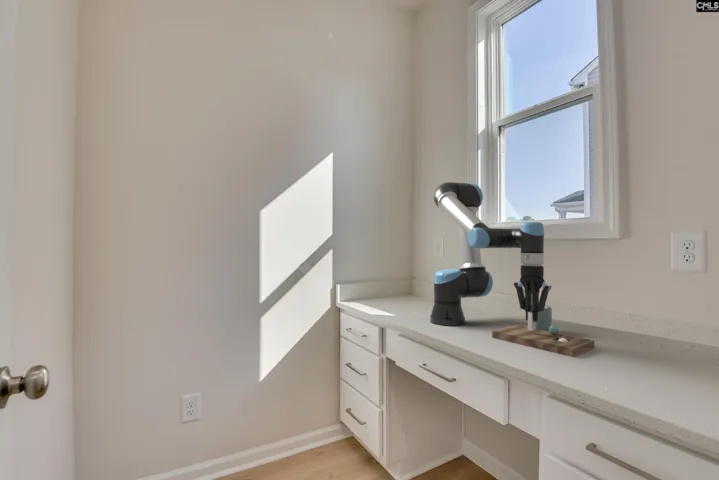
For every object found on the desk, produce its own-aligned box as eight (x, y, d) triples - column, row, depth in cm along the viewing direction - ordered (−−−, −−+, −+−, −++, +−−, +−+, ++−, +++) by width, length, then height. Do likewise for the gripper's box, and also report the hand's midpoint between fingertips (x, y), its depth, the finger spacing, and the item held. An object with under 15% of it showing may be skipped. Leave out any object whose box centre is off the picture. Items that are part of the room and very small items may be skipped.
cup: (554, 334, 136) (554, 308, 136) (533, 333, 138) (532, 307, 138) (548, 329, 144) (548, 305, 144) (527, 328, 145) (527, 304, 145)
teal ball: (547, 333, 127) (547, 325, 127) (551, 332, 129) (551, 323, 129) (556, 335, 124) (556, 326, 124) (560, 334, 126) (560, 325, 126)
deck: (492, 337, 131) (492, 330, 131) (515, 331, 141) (515, 325, 141) (573, 357, 109) (573, 348, 109) (594, 348, 118) (594, 340, 118)
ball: (565, 339, 117) (566, 349, 116) (569, 337, 118) (570, 347, 118) (555, 338, 119) (556, 347, 119) (560, 336, 121) (561, 346, 121)
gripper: (509, 264, 131) (509, 327, 131) (545, 266, 120) (544, 335, 120) (520, 263, 135) (520, 324, 135) (555, 265, 125) (555, 332, 125)
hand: (531, 329), depth 128 cm, fingers closed
